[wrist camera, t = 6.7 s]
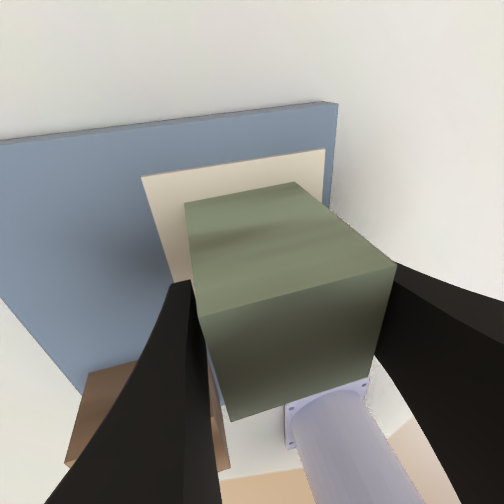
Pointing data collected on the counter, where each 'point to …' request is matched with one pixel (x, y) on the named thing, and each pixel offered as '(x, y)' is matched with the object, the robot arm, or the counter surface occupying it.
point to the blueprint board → (133, 218)
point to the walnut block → (104, 395)
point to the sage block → (284, 295)
